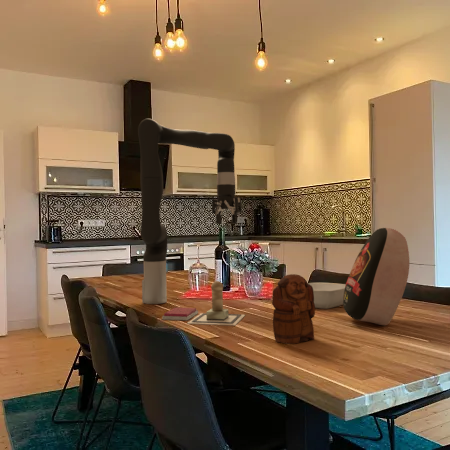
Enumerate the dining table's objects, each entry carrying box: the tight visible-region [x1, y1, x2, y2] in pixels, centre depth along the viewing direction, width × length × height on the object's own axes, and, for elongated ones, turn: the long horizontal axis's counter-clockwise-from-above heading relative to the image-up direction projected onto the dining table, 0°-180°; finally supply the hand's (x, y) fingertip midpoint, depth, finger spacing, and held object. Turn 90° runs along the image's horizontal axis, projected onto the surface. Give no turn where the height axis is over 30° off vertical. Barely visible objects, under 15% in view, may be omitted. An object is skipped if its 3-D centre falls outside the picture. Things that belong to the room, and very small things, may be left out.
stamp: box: [205, 280, 229, 321], centre depth 155 cm, size 6×6×13 cm
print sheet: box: [186, 312, 246, 327], centre depth 155 cm, size 16×16×1 cm
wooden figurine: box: [271, 273, 316, 345], centre depth 126 cm, size 12×6×18 cm, turn 120°
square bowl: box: [307, 282, 346, 310], centre depth 179 cm, size 20×20×8 cm
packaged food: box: [342, 227, 410, 326], centre depth 147 cm, size 22×20×30 cm
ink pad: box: [161, 307, 199, 321], centre depth 161 cm, size 9×12×2 cm
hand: (226, 223), depth 188 cm, fingers open, 8 cm apart
